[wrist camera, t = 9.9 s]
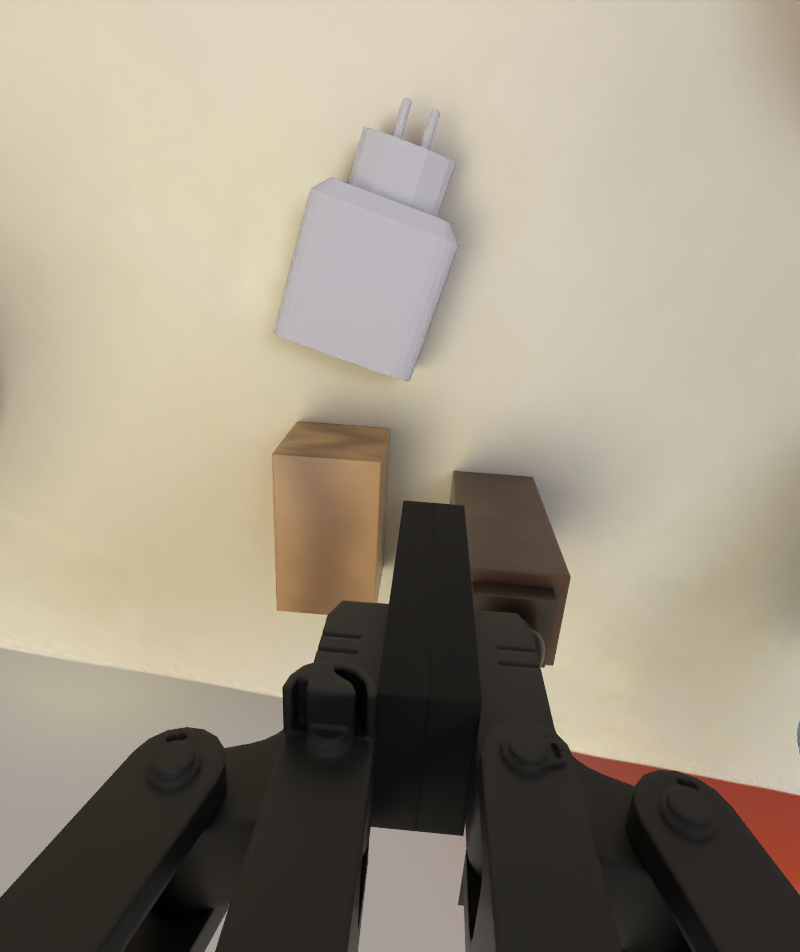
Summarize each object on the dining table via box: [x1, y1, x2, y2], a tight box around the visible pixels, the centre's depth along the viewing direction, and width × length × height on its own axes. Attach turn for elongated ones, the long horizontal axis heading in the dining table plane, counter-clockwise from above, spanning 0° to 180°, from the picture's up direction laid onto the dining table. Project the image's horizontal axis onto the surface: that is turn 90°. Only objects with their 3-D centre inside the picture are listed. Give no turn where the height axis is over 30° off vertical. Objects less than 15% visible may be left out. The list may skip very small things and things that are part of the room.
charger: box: [274, 98, 459, 381], centre depth 36 cm, size 5×9×15 cm
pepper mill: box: [450, 471, 570, 668], centre depth 38 cm, size 14×6×17 cm
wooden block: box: [272, 422, 390, 615], centre depth 43 cm, size 7×12×7 cm, turn 177°
